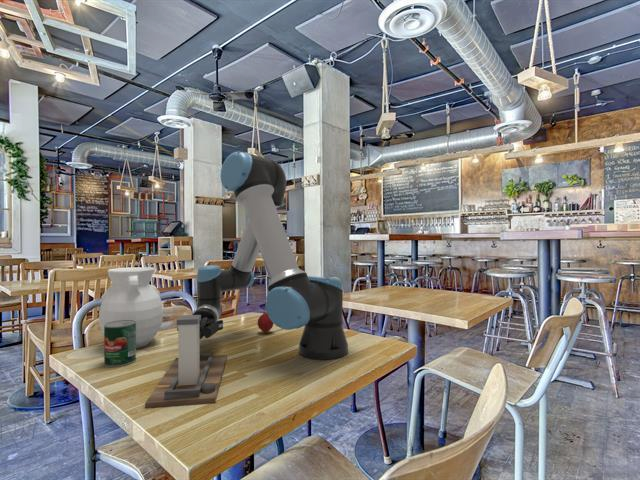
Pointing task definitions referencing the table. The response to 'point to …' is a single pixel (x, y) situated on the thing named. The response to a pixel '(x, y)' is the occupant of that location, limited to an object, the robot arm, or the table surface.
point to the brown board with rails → (189, 394)
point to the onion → (265, 322)
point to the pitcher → (133, 302)
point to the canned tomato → (119, 343)
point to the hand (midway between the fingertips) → (189, 341)
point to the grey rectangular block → (188, 349)
